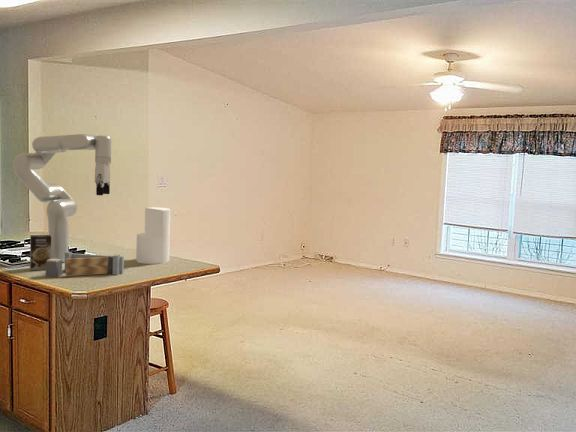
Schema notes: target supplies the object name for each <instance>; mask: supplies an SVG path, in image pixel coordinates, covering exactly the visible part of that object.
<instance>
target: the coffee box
mask: <svg viewBox="0 0 576 432" xmlns="http://www.w3.org/2000/svg"><path fill="white" fill-rule="evenodd" d="M29 236H30V237H29V238H30V239H29V245H30V246H29V250H30V251H29V269H30V271H46V261H47V260H49V259H51V236H50V235H49V234H34V235H33V234H30V235H29Z"/></svg>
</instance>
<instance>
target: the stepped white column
mask: <svg viewBox="0 0 576 432" xmlns="http://www.w3.org/2000/svg"><path fill="white" fill-rule="evenodd" d="M170 239H171V209H170V208H168V207H155V206H154V207H153V206H149V207H148V206H145V207H144V232H143V233H138V234H136V249H135V250H136V253H135V254H136V256H135V257H136V258H135V259H136V260H135V261H136V262H137V263H140V264H145V265H147V264H148V265H158V264H159V263H161V264H167V263H169V262H170V250H171V249H170V246H171V244H170V243H171V240H170ZM168 261H169V262H168ZM166 262H167V263H166ZM159 265H160V264H159Z"/></svg>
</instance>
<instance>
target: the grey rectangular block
mask: <svg viewBox="0 0 576 432" xmlns="http://www.w3.org/2000/svg"><path fill="white" fill-rule="evenodd" d="M61 276H63V262H62V260H61V259H53V258H52V259H49V260H47V261H46V270H45V278H59V277H61Z"/></svg>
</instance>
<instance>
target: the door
mask: <svg viewBox="0 0 576 432" xmlns="http://www.w3.org/2000/svg"><path fill="white" fill-rule="evenodd" d="M108 256H109V273H107V265H108V258H107V257H95V258H66V271H65V276H81V275H82V276H85V275H105V274H106V275H107V274H109V275H110V274H111V275H113V255H108Z"/></svg>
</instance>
